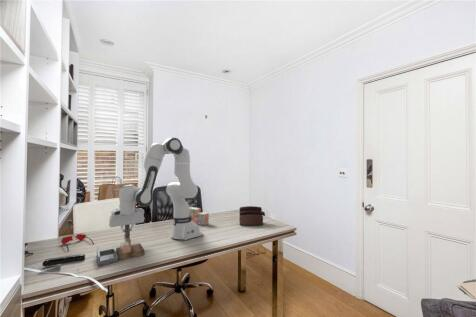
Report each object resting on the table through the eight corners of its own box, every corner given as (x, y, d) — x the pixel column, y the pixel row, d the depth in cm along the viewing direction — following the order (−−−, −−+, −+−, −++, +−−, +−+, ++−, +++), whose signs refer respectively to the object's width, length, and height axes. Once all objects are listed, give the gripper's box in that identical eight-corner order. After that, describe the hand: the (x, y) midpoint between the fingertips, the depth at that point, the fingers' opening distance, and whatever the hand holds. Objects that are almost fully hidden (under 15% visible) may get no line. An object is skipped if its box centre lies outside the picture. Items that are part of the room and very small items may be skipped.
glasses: (85, 239, 155) (85, 232, 155) (94, 245, 144) (94, 237, 144) (60, 245, 144) (60, 237, 144) (67, 251, 134) (67, 243, 134)
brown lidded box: (239, 221, 200) (239, 206, 200) (261, 221, 200) (261, 206, 200) (239, 225, 190) (239, 208, 190) (263, 225, 190) (263, 208, 190)
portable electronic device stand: (42, 267, 114) (42, 261, 114) (44, 265, 116) (44, 259, 117) (84, 260, 122) (84, 255, 122) (85, 258, 124) (85, 253, 124)
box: (114, 252, 132) (114, 243, 132) (118, 261, 120) (118, 252, 120) (96, 255, 127) (96, 247, 127) (98, 266, 115) (98, 256, 115)
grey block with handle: (127, 238, 151) (127, 221, 151) (131, 244, 140) (131, 227, 139) (123, 238, 150) (123, 222, 150) (126, 245, 138) (126, 227, 138)
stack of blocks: (208, 223, 193) (208, 209, 193) (203, 225, 188) (203, 210, 188) (190, 220, 205) (191, 206, 205) (185, 221, 200) (185, 207, 200)
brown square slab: (139, 248, 139) (139, 243, 139) (144, 254, 129) (144, 249, 129) (116, 252, 131) (116, 247, 131) (118, 260, 121) (118, 254, 121)
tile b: (129, 249, 129) (129, 245, 129) (130, 251, 126) (130, 247, 126) (121, 251, 127) (121, 246, 127) (122, 253, 123) (122, 248, 123)
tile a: (127, 246, 134) (127, 241, 134) (128, 248, 130) (128, 244, 131) (120, 247, 132) (120, 243, 132) (121, 249, 128) (121, 245, 128)
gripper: (143, 207, 153) (143, 227, 153) (108, 211, 141) (108, 233, 141) (145, 208, 148) (145, 229, 148) (109, 213, 136) (109, 236, 136)
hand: (127, 231), depth 145 cm, fingers closed on grey block with handle, 2 cm apart
